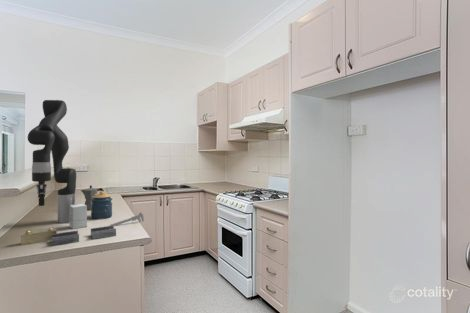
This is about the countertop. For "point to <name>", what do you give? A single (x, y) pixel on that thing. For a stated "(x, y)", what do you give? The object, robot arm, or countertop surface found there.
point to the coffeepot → (90, 195)
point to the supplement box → (78, 216)
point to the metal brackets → (74, 236)
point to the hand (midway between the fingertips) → (41, 204)
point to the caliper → (130, 219)
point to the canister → (101, 206)
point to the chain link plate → (37, 236)
